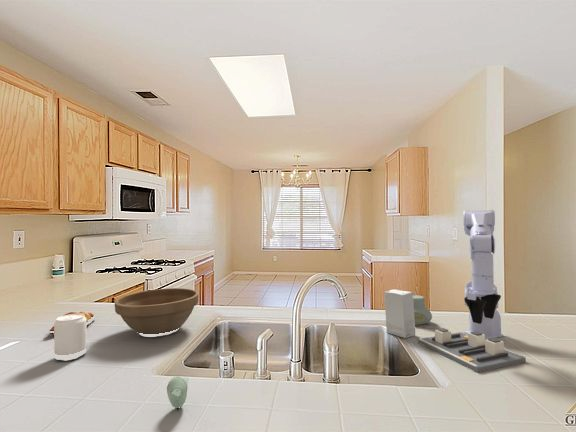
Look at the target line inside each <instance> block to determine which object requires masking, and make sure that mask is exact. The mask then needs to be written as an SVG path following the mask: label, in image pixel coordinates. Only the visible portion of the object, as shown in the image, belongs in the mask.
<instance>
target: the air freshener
mask: <svg viewBox="0 0 576 432" xmlns="http://www.w3.org/2000/svg"><path fill="white" fill-rule="evenodd" d="M425 300H426V299H425V297H424V296H422V295H417V294H415V295H414V294H413V304H414V319H415V326H422V325H427V324H429V323H430V322H431V320H432V319H433V314H432V312H431V311H430V309H428V308H426V307H425V305H426V304H425V303H426V302H425Z"/></svg>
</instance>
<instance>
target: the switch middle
mask: <svg viewBox="0 0 576 432" xmlns="http://www.w3.org/2000/svg"><path fill="white" fill-rule="evenodd" d="M485 340H486V339H485V335H484V334H482V333H480V332H477V331H475V332H471V333H468V345H470V346H472V347H477V346H483V345H485Z"/></svg>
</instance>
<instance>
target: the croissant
mask: <svg viewBox="0 0 576 432" xmlns="http://www.w3.org/2000/svg"><path fill="white" fill-rule="evenodd" d="M69 314H84V315H85V318H86V322H88V320H89V319H91V317H93V316H94V314H95V313H94V314H93V313H91V312H85V311H80V312H77V311H71V312H67V313H64V314H63V315H62V316H64V315H69ZM49 331H54V325H53V326H52V327H51V329H49Z"/></svg>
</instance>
